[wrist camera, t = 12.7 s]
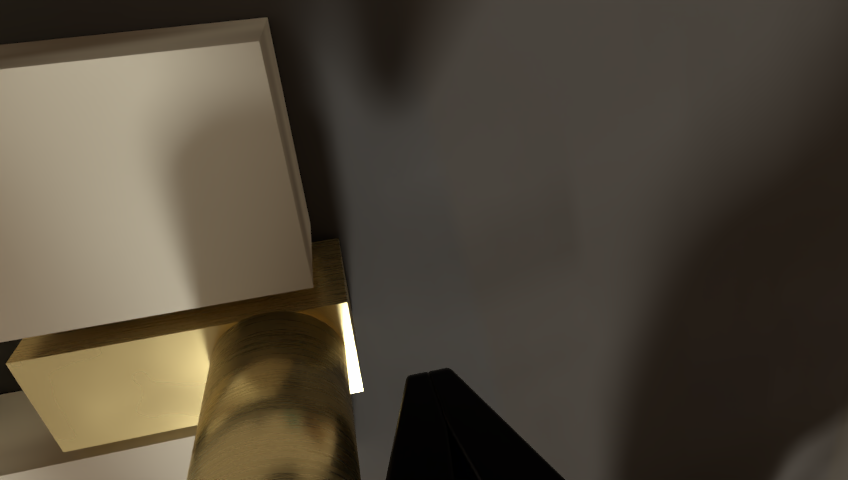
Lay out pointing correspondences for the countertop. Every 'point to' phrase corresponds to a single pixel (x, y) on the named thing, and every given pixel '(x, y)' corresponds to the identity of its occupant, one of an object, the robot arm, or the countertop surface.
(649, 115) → the countertop surface
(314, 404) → the pin
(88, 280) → the dock
